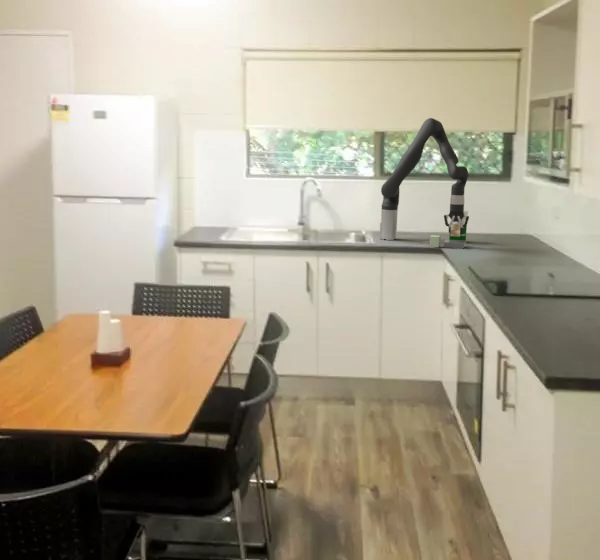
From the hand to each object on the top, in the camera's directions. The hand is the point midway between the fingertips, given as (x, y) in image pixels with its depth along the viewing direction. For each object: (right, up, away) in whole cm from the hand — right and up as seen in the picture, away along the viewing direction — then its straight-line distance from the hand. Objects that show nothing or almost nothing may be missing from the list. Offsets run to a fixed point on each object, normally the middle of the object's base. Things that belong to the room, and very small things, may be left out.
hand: (455, 233), depth 463 cm
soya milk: (+5, -4, +20) cm, 21 cm away
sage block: (-11, -7, 0) cm, 14 cm away
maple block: (0, -1, 0) cm, 1 cm away
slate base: (0, -7, +1) cm, 7 cm away
